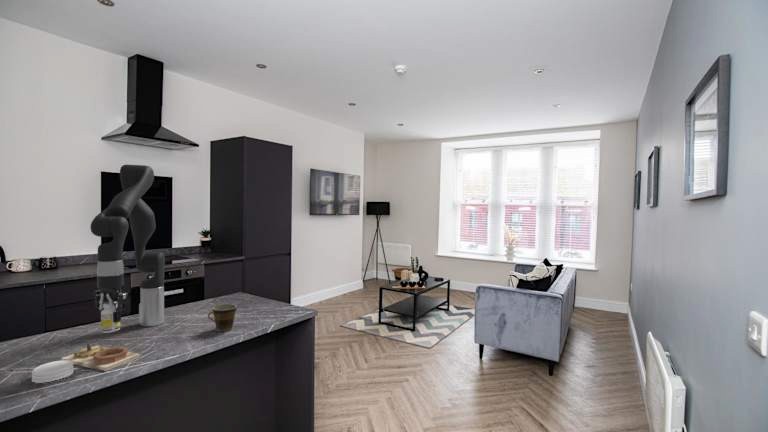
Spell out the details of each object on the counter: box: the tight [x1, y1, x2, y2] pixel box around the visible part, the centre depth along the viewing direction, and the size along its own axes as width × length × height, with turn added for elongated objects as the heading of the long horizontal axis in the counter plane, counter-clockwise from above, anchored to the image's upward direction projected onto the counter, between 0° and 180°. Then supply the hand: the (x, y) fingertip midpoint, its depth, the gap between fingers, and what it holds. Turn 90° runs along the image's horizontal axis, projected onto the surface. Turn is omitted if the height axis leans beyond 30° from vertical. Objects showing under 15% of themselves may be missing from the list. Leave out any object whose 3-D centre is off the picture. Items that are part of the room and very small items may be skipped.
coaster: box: [31, 360, 74, 384], centre depth 117 cm, size 10×10×4 cm
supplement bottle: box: [100, 302, 121, 334], centre depth 128 cm, size 5×5×10 cm
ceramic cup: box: [207, 303, 238, 333], centre depth 161 cm, size 13×10×10 cm
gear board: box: [60, 342, 141, 372], centre depth 130 cm, size 22×12×5 cm, turn 72°
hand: (110, 320), depth 128 cm, fingers closed on supplement bottle, 5 cm apart
